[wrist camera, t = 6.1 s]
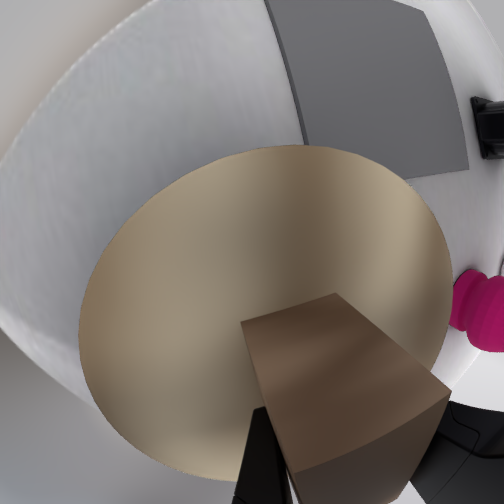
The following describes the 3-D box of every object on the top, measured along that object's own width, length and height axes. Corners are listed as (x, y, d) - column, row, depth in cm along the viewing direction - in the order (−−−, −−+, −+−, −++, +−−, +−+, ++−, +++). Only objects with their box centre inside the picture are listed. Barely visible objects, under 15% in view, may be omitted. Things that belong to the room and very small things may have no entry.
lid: (433, 133, 8) (557, 130, 3) (420, 404, 12) (472, 459, 7) (26, 223, 6) (-110, 279, 1) (179, 486, 11) (187, 568, 5)
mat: (419, 13, 14) (423, 11, 13) (464, 169, 18) (469, 169, 18) (258, -16, 12) (260, -20, 11) (315, 195, 16) (319, 195, 16)
